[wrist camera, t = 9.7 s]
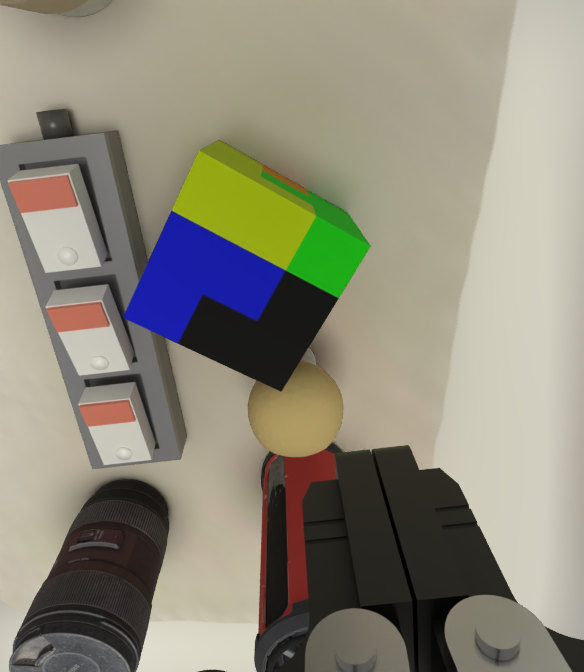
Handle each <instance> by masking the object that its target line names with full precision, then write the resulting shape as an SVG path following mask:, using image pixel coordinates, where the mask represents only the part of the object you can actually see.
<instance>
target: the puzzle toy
mask: <svg viewBox="0 0 584 672" xmlns="http://www.w3.org/2000/svg"><path fill="white" fill-rule="evenodd" d="M369 248H370V244H369V243H368V241H367V240H366V239H365V237H364V236H363V234H362V233H361V231H360V230H359V229H358V227H357V226H356V224H355V223H354V221H353V220H352V219H351V217H350V216H349V214H348V213H347V212H345V211H344V210H342V209H340V208H338V207H337V206H335V205H333V204H331V203H329V202H328V201H326V200H324V199H322V198H321V197H319V196H317V195H315V194H314V193H312V192H310V191H308V190H306V189H305V188H303V187H301V186H299V185H298V184H296V183H294V182H292V181H291V180H289V179H287V178H285V177H284V176H282V175H280V174H278V173H276V172H275V171H273V170H271V169H269V168H268V167H266V166H264V165H262V164H261V163H259V162H257V161H255V160H253V159H252V158H250V157H248V156H246V155H245V154H243V153H241V152H239V151H238V150H236V149H234V148H232V147H231V146H229V145H227V144H225V143H223V142H222V141H220V140H218V141H216V142H214V143H213V144H211V145H209V146H207V147H205V148H203V149H201V150H199V152H198V154H197V156H196V158H195V161H194V163H193V165H192V167H191V169H190V171H189V174H188V176H187V178H186V180H185V182H184V185H183V187H182V189H181V191H180V193H179V196H178V198H177V200H176V202H175V204H174V206H173V209H172V211H171V213H170V215H169V217H168V220H167V222H166V224H165V226H164V228H163V231H162V233H161V235H160V237H159V239H158V242H157V244H156V246H155V248H154V250H153V252H152V255H151V257H150V259H149V261H148V263H147V266H146V268H145V270H144V272H143V274H142V277H141V279H140V281H139V283H138V285H137V287H136V290H135V292H134V294H133V296H132V298H131V301H130V303H129V305H128V307H127V309H126V312H125V314H124V316H123V318H124V319H126V320H129V321H131V322H133V323H135V324H137V325H139V326H141V327H144V328H146V329H148V330H150V331H152V332H154V333H156V334H159V335H161V336H163V337H165V338H167V339H169V340H171V341H173V342H176V343H178V344H180V345H182V346H184V347H186V348H188V349H191V350H193V351H195V352H197V353H199V354H201V355H203V356H206V357H208V358H210V359H212V360H214V361H216V362H218V363H221V364H223V365H225V366H227V367H229V368H231V369H233V370H235V371H238V372H240V373H242V374H244V375H246V376H248V377H250V378H253V379H255V380H257V381H259V382H261V383H263V384H265V385H268V386H270V387H272V388H274V389H276V390H278V391H280V392H282V390H283V388H284V387H285V385H286V384H287V382H288V380H289V379H290V377H291V375H292V374H293V372H294V370H295V369H296V367H297V366H298V364H299V362H300V361H301V359H302V357H303V356H304V354H305V352H306V351H307V349H308V348H309V346H310V344H311V343H312V341H313V339H314V338H315V336H316V335H317V333H318V331H319V330H320V328H321V326H322V325H323V323H324V321H325V320H326V318H327V317H328V315H329V313H330V312H331V310H332V308H333V307H334V305H335V304H336V302H337V300H338V299H339V297H340V295H341V294H342V292H343V290H344V289H345V287H346V286H347V284H348V282H349V281H350V279H351V277H352V276H353V274H354V272H355V271H356V269H357V268H358V266H359V264H360V263H361V261H362V259H363V258H364V256H365V255H366V253H367V251H368V250H369Z"/></svg>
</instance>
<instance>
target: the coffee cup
mask: <svg viewBox="0 0 584 672" xmlns="http://www.w3.org/2000/svg"><path fill="white" fill-rule="evenodd" d="M111 1H112V0H0V5H4V6H9V7H14V8H18V9H23V10H28V11H33V12H38V13H45V14H61V15H65V16H72V17H81V16H87V15H91V14H94V13H96V12H98V11H100V10H102V9H103V8H104V7H106V6H107V5H108V4H109V3H110V2H111Z"/></svg>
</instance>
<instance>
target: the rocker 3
mask: <svg viewBox="0 0 584 672" xmlns="http://www.w3.org/2000/svg"><path fill="white" fill-rule="evenodd" d="M78 405H79V409H80V411H81V414H82V416H83V418H84V421H85V423H86V425H87V427H88V428H89V431H90V433H91V435H92V438H93V440H94V443H95V445H96V447H97V450H98V452H99V454H100V457H101V459H102V461H103V464H104V465H110V464H119V463H128V462H137V461H146V460H152V456H153V452H154V448H155V444H156V442H155V439H154V436H153V433H152V430H151V427H150V424H149V421H148V418H147V415H146V412H145V410H144V407H143V404H142V401H141V398H140V395H139V392H138V389H137V386H136V383H135V382H131V383H122V384H113V385H104V386H95V387H86V388H85V390H84V392H83V394H82V396H81V399H80V401H79V403H78Z"/></svg>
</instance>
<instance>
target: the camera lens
mask: <svg viewBox="0 0 584 672" xmlns="http://www.w3.org/2000/svg"><path fill="white" fill-rule="evenodd" d="M168 532H169V520H168V509H167V505H166V502H165V500H164V498H163V497H162V495H161V494H160V493H159V492H158V491H157V490H156V489H154V488H153V487H151V486H149V485H148V484H146V483H143V482H140V481H136V480H118V481H114V482H110V483H109V484H107V485H105V486H103V487H102V488H101V489H99V490H98V491H97V493H96V494H95V495H94V496H93V497H91V498H90V499H89V500H88V501H87V502H86V503H85V505H84V506H83V508H82V510H81V511H80V513H79V514H78V515H77V517H76V519H75V520H74V522H73V524H72V526H71V528H70V530H69V532H68V534H67V536H66V538H65V541H64V543H63V546H62V548H61V551H60V553H59V555H58V557H57V559H56V561H55V563H54V565H53V567H52V569H51V572H50V574H49V576H48V578H47V579H46V580H45V582H44V583H43V585H42V587H41V588H40V590H39V591H38V593H37V595H36V596H35V598H34V600H33V602H32V605H31V607H30V609H29V611H28V613H27V615H26V617H25V619H24V621H23V623H22V626H21V628H20V629H19V631H18V633H17V636H16V638H15V640H14V644H13V654H12V656H11V658H10V662H9V663H10V664H9V671H10V672H136V670H137V667H138V665H139V661H140V656H141V652H142V648H143V644H144V640H145V636H146V632H147V628H148V624H149V619H150V614H151V608H152V599H153V595H154V591H155V587H156V584H157V580H158V576H159V573H160V570H161V567H162V563H163V559H164V555H165V551H166V546H167V538H168Z"/></svg>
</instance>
